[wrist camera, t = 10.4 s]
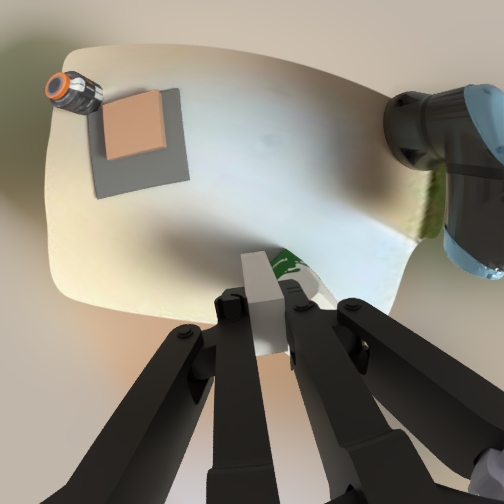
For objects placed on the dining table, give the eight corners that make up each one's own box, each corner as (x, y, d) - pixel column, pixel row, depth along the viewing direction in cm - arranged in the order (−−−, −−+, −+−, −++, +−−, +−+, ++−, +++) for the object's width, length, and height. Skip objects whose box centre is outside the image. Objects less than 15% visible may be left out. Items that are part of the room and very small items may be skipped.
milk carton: (285, 240, 44) (326, 293, 25) (319, 276, 47) (370, 340, 28) (247, 277, 46) (260, 350, 27) (283, 309, 48) (312, 387, 29)
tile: (167, 148, 38) (162, 94, 35) (162, 146, 35) (157, 89, 32) (114, 160, 37) (110, 108, 35) (107, 160, 35) (102, 105, 32)
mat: (179, 89, 36) (178, 88, 35) (189, 179, 40) (189, 180, 40) (90, 114, 35) (88, 114, 35) (99, 199, 40) (97, 199, 39)
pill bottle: (108, 84, 34) (77, 65, 23) (98, 117, 36) (62, 105, 25) (82, 83, 33) (48, 66, 22) (71, 114, 35) (34, 104, 24)
